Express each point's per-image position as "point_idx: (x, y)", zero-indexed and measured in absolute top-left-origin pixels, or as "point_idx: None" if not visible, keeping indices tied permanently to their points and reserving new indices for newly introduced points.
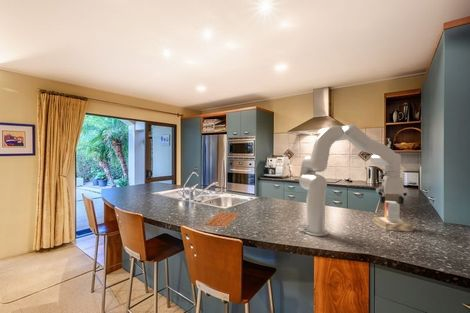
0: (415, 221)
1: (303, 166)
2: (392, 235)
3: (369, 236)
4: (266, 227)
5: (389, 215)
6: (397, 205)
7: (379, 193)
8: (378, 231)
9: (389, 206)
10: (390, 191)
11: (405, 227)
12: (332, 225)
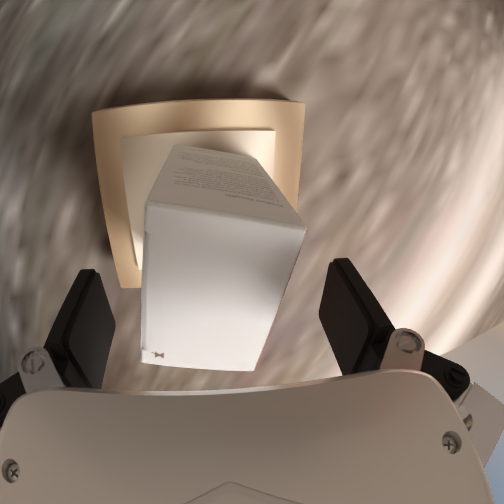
0: (39, 320)
1: None
2: (304, 4)
3: (429, 10)
4: None
5: (258, 168)
6: (180, 196)
7: (451, 365)
8: (351, 73)
9: (282, 205)
10: (356, 428)
11: (152, 103)
12: (490, 175)
